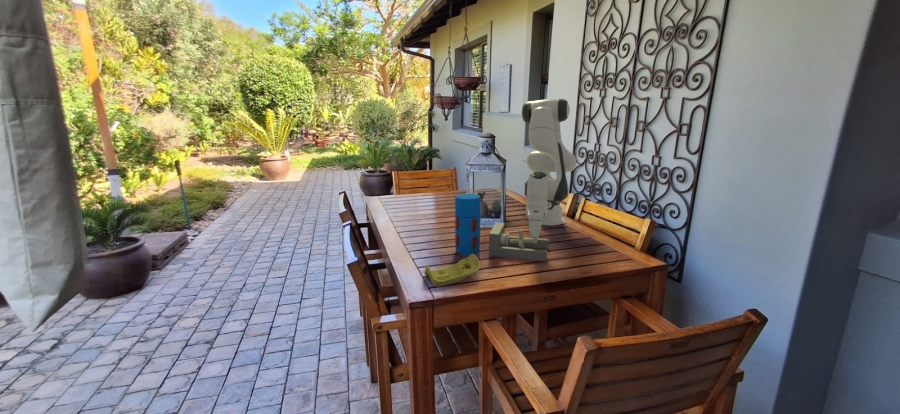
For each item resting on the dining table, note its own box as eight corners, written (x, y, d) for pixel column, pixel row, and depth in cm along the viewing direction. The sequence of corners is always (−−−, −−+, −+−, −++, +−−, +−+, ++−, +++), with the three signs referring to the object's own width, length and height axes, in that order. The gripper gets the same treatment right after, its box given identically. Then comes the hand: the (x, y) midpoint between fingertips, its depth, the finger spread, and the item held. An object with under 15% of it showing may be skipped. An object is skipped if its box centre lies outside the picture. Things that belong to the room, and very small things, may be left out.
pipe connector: (533, 255, 168) (531, 232, 166) (509, 256, 170) (507, 233, 168) (534, 248, 177) (533, 226, 175) (512, 248, 180) (510, 227, 178)
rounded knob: (493, 243, 180) (493, 229, 179) (509, 244, 179) (509, 230, 177) (491, 247, 174) (491, 233, 173) (507, 249, 173) (507, 235, 171)
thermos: (464, 258, 168) (464, 200, 162) (450, 250, 176) (450, 195, 170) (484, 252, 174) (485, 197, 167) (470, 246, 182) (470, 192, 176)
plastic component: (436, 283, 139) (425, 263, 145) (434, 296, 143) (423, 276, 150) (484, 269, 147) (472, 250, 153) (481, 282, 151) (469, 263, 158)
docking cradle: (495, 243, 186) (495, 222, 183) (548, 247, 179) (549, 226, 177) (488, 255, 170) (489, 233, 168) (546, 261, 164) (547, 238, 161)
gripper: (530, 205, 179) (529, 234, 182) (527, 216, 159) (525, 249, 162) (545, 206, 177) (543, 235, 180) (543, 217, 158) (541, 250, 161)
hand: (535, 242), depth 171 cm, fingers closed, pressing on pipe connector
